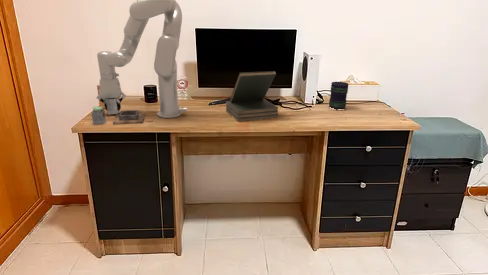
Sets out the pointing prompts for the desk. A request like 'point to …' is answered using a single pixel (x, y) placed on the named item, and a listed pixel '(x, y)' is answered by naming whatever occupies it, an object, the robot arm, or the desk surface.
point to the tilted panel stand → (252, 97)
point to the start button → (97, 108)
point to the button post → (98, 117)
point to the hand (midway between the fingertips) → (113, 110)
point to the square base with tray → (129, 117)
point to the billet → (112, 106)
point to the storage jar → (338, 95)
